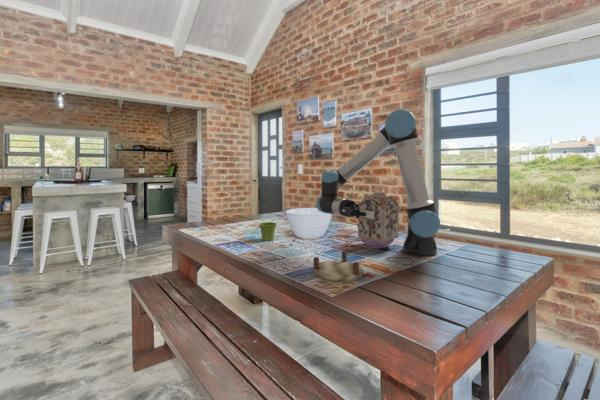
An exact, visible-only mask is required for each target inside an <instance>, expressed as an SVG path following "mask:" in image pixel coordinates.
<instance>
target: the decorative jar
mask: <svg viewBox="0 0 600 400" xmlns="http://www.w3.org/2000/svg"><path fill="white" fill-rule="evenodd" d="M386 194H387V193H386V192H383V191H382V192H381V191H373V193H372V196H367V197H364V198H363V199H362V200H361V201H360V202H359V211H360V210H366V211H373V212H375V213H374V219H370V218H364V217H360V216H359V218H358V221H357V222H358V227H357V237H358V238H359V239H360V238H363V239H368V240H373V241H379V242H386V241H389V240H392V239H394V240H395V239H397V238H398V237H399V219H400V217H399V215H400V213H399V212H400V210H399V207H400V206H399V202H397V200H396V199H395V198H393V197H390V196H387V195H386Z"/></svg>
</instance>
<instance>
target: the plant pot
mask: <svg viewBox="0 0 600 400" xmlns="http://www.w3.org/2000/svg"><path fill="white" fill-rule="evenodd" d="M277 225H278V223H277V222H270V221H267V222H266V221H265V222H260V223H259V224H258V226H259V228H260V233H261V239H262V241H265V242H267V241H270V242H271V241H274V239H275V234H276V233H275V231H276V228H277Z"/></svg>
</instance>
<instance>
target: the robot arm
mask: <svg viewBox="0 0 600 400" xmlns="http://www.w3.org/2000/svg"><path fill="white" fill-rule="evenodd" d="M416 121H417V120H416V117H415V115H414V114H413V113H412V112H411V111H410V110H408V109H403V108H399V109H395V110H393V111H392V112H391V113H389V114H388V116H387V117H386V119H385V122H384V127H382V129H380V130H379V131H378V135H377V136H376V137H375V138H373V139H372V140H371V141H370V142H369V143H367V144H366V145H365V146H364V147H363V148H362V149H360V150H359V151H358V152H357V153H355V155H353V156H352V157H350V159H349V160H348V161H346V162H344V164H343V165H341V167H339V168H338V169H337V170H335V171H334V170H332V171H331V170H326V171H322V172H321V177H320V180H321V185H320V186H321V189H320V191H321V196H319V197H318V198H317V200H316V203H315V206H316V209H317V210H318V212H321V213H324V214H329V215H330V214H331V215H335V216H338V217H345V218H354V217H355V219H359V216H360V217H364V218H370V219H374V213H375V212H373V211H366V210H360V211H359V204H360V203H359V204H357V203H356V202H355V200H353V199H349V198H347V199H346V198H339V197H338V196H339V194H338V193H339V191H338V190H340V189H341V188H342V187H343V186H344V185H345V184H346V183H348V182H349V181H350V180H351V179H353V178H354V176H356V175H358V174H359V172H361V171H362V170H363V169H365V168H366V167H367V166H368V165H370V163H372V161H373V162H374V160H375V159H377V158H378V157H379V156H380V155H381V154H383V153H384V152H385V151H387V149H390V148H393V149H394V152H395V155H396V159H397V163H398V166H399V171H400V175H401V179H402V183H403V187H404V191H405V195H406V200H407V205H406V207H405V211H406V214H407V231H406V232H407V234H406V236H405V239H404V242H403V245H402V251H403V252H404V253H407V254H411V255H415V256H416V255H417V256H434V255H436V254H437V253H438V247H437V243H436V240H435V235H436V234H437V233H438V231H439V229H440V227H441V219H440V218H439V215H438V213H437V208H436V204H435V201H434V200H432V199H430V196H429V192H428V188H427V184H426V179H425V176H424V171H423V168H422V163H421V159H420V155H419V151H418V147H417V142H418V140H419V134H418V130H417V126H416V124H417V122H416Z"/></svg>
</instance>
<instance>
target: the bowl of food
mask: <svg viewBox="0 0 600 400" xmlns="http://www.w3.org/2000/svg"><path fill="white" fill-rule="evenodd" d="M356 226H357V228H358V221H357V222H356ZM359 239H360V241H361V242H362V243H363V244H365V245H366V246H367V247H369V248H372V249H384V248H385V247H388V246H390V245H391V244H392V243H393V242H394V240H395V239H392V240H389V241H386V242H379V241H373V240H368V239H363V238H359Z"/></svg>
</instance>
